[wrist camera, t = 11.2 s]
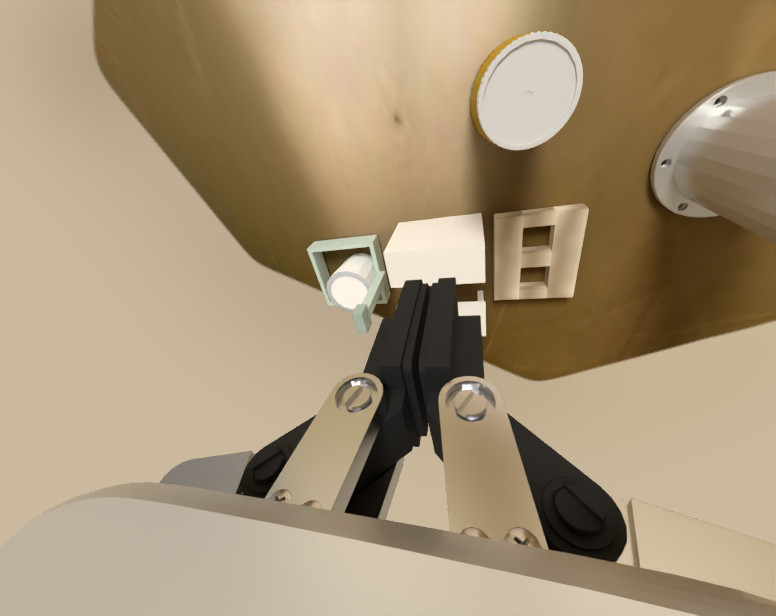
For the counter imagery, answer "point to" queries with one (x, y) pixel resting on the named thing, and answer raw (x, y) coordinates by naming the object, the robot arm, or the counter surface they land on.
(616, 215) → the counter surface
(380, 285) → the slider
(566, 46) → the bottle
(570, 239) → the board
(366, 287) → the white cup
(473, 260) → the tunnel
